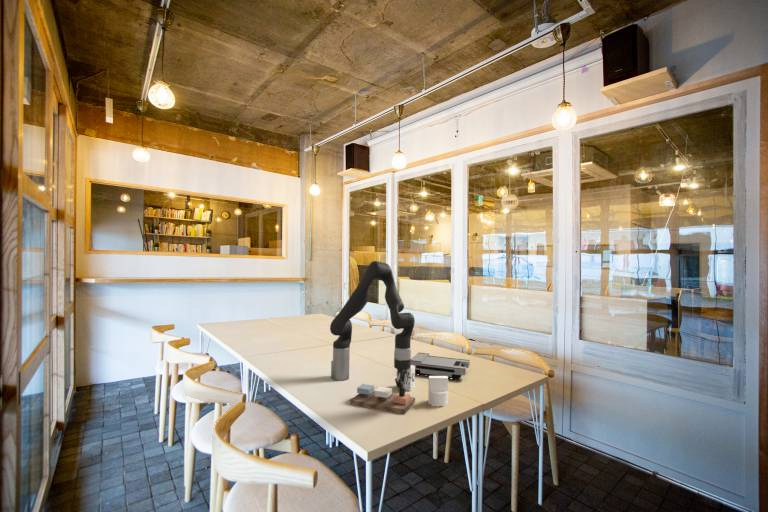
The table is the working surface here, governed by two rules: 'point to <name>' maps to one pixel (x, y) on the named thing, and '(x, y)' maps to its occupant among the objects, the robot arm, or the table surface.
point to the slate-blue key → (365, 389)
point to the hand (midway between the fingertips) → (402, 395)
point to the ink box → (410, 379)
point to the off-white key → (383, 392)
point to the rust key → (401, 399)
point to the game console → (439, 366)
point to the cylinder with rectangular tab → (438, 390)
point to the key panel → (381, 403)
